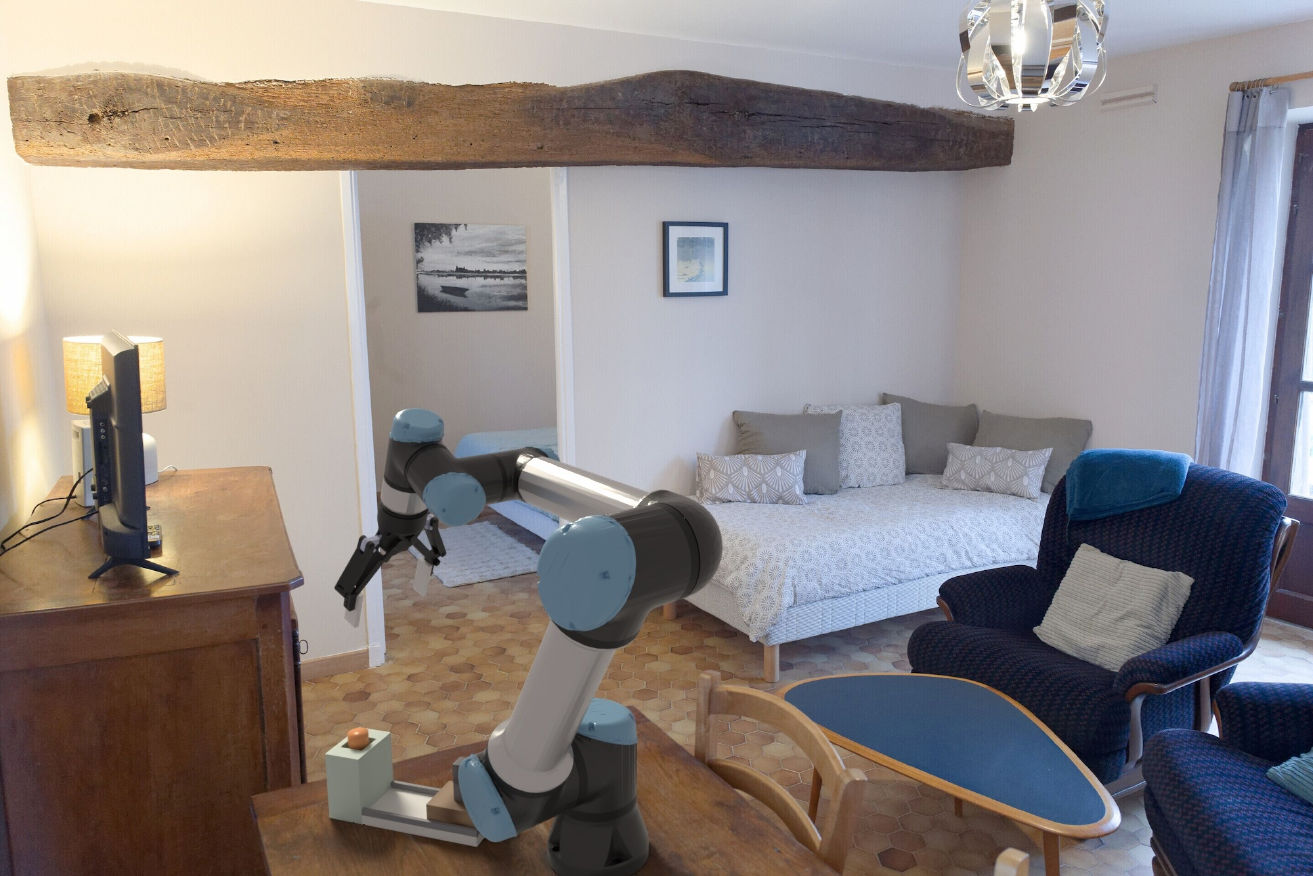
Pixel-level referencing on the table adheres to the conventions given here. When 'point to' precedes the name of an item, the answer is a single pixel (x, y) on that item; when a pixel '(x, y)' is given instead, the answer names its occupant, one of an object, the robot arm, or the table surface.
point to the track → (415, 815)
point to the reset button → (358, 739)
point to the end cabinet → (358, 776)
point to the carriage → (450, 803)
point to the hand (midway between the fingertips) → (386, 606)
